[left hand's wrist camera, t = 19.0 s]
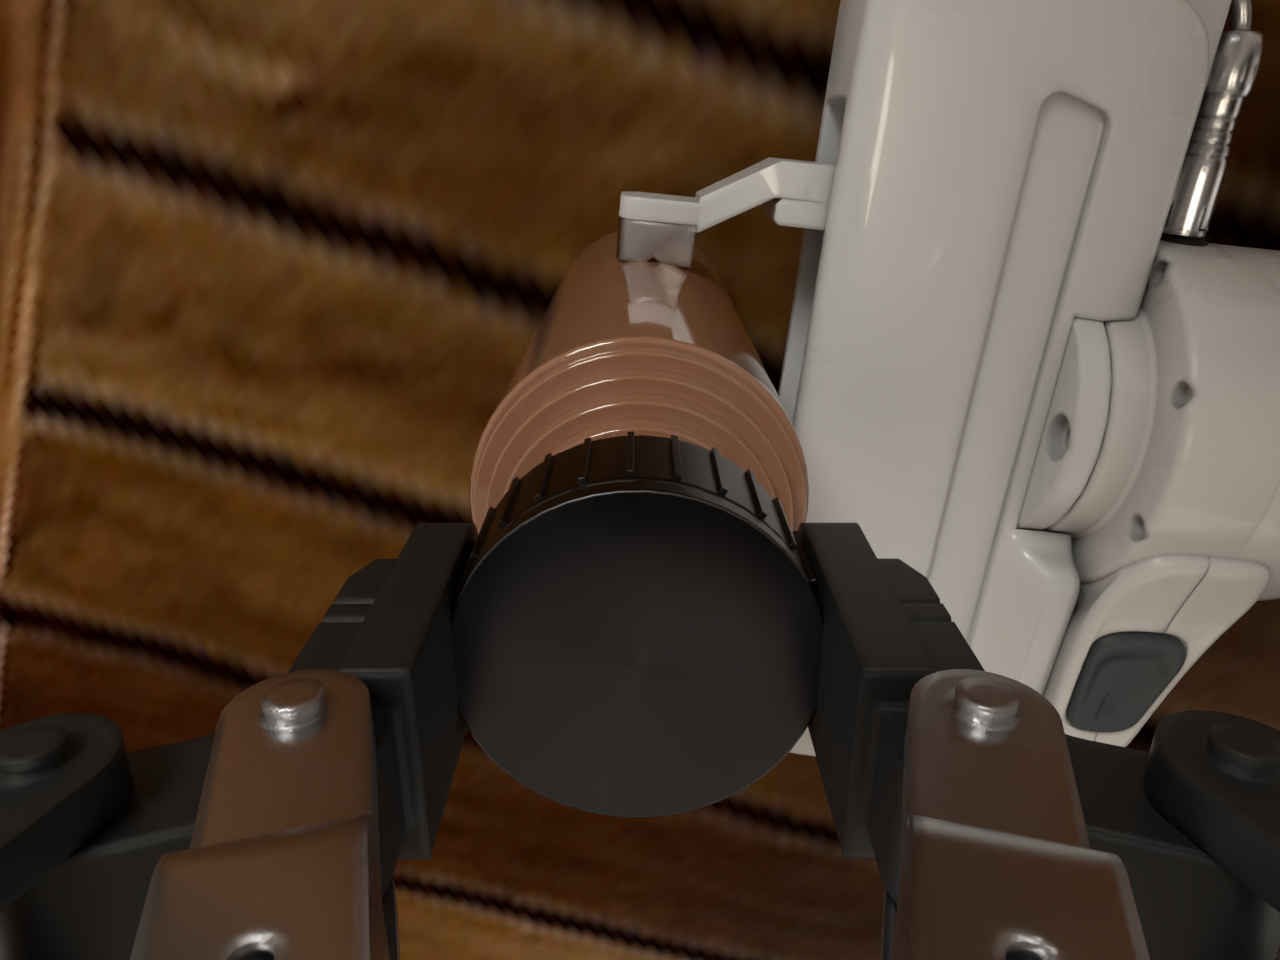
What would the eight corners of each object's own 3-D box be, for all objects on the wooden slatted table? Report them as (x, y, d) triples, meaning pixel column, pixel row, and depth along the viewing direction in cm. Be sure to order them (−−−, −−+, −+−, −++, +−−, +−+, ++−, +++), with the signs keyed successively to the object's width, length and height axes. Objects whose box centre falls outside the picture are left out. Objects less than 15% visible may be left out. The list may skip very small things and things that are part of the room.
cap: (580, 362, 11) (568, 407, 9) (873, 542, 12) (914, 615, 10) (410, 631, 12) (372, 716, 11) (685, 775, 13) (691, 874, 11)
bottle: (652, 432, 30) (664, 884, 12) (520, 327, 29) (319, 662, 11) (764, 305, 29) (965, 613, 11) (630, 188, 27) (602, 316, 9)
